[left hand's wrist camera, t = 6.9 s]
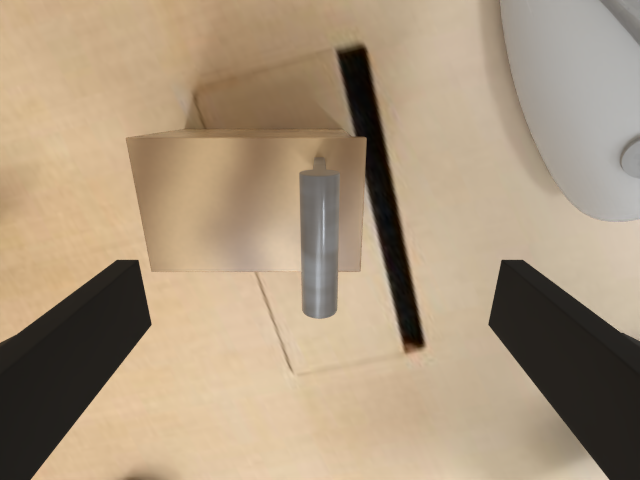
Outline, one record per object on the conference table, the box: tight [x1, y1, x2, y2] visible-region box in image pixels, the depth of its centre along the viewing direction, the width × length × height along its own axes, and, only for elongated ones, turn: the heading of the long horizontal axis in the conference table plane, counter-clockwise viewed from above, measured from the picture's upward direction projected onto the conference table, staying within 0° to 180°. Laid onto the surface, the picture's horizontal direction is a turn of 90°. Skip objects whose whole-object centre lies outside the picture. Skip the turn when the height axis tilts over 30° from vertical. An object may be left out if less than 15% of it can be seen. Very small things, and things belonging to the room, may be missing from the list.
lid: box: [126, 137, 367, 319], centre depth 20 cm, size 15×9×8 cm, turn 90°
